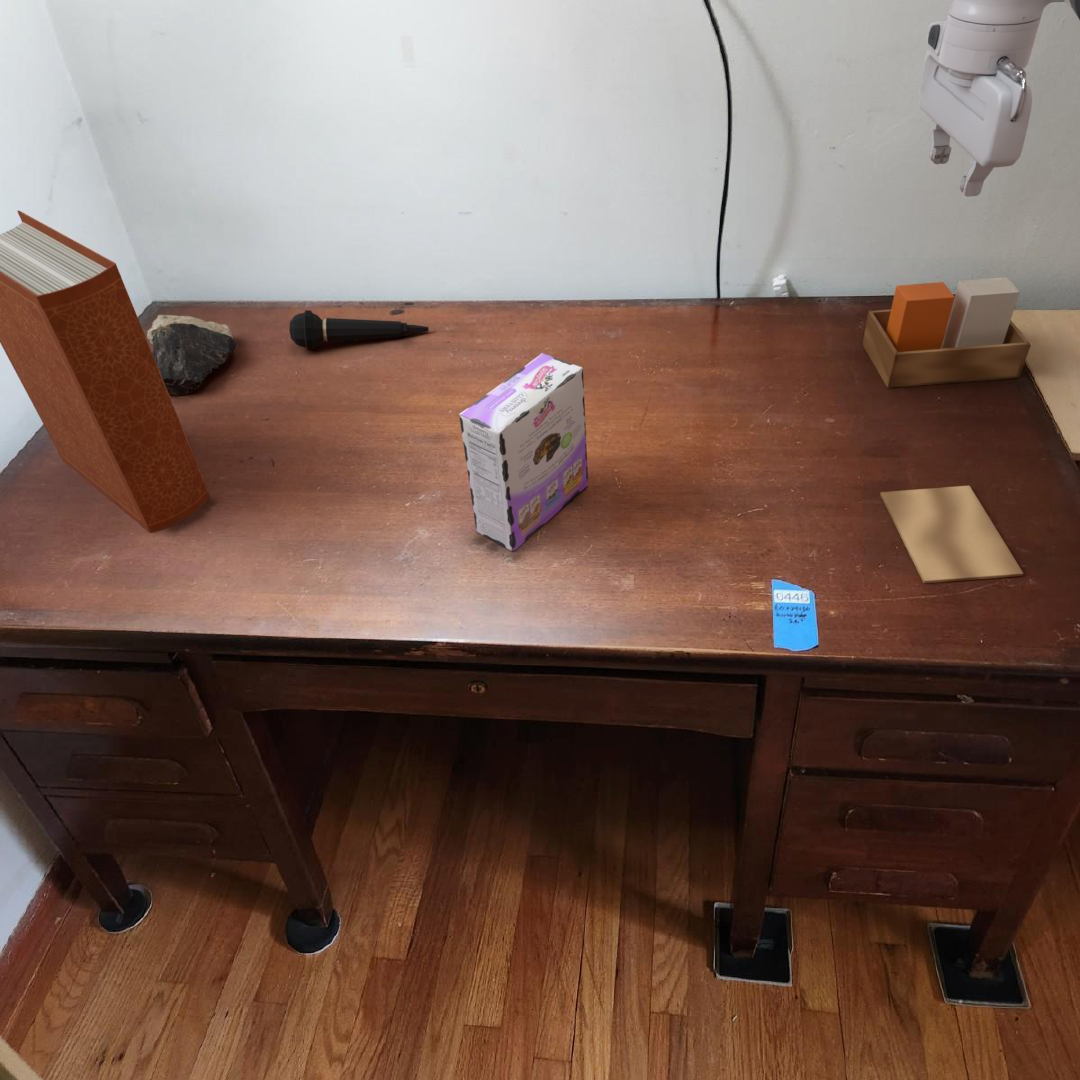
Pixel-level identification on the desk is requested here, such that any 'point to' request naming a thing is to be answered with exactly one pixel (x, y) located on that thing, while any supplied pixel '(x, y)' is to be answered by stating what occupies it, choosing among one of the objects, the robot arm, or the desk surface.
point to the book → (94, 375)
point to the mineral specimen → (188, 350)
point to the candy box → (526, 449)
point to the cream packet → (980, 313)
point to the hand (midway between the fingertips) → (953, 177)
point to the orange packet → (919, 316)
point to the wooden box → (942, 358)
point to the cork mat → (949, 535)
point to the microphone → (344, 329)
